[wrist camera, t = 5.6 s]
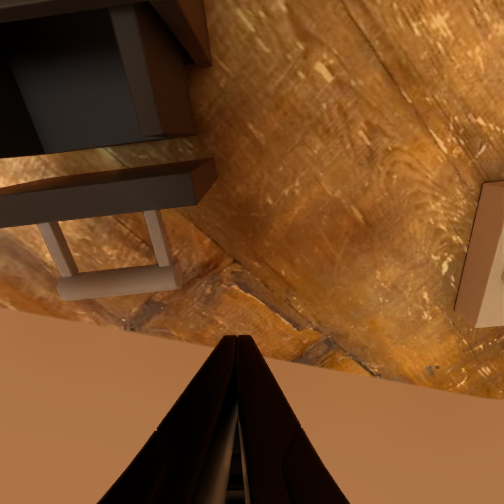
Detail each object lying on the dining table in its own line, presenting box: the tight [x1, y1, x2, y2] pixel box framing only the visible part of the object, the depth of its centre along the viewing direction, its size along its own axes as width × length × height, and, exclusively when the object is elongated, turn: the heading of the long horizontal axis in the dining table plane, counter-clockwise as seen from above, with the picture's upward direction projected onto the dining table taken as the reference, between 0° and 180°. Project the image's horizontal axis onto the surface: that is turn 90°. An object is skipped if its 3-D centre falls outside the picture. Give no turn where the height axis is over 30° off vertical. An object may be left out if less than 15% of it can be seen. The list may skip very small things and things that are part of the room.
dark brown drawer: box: [0, 1, 218, 301], centre depth 12 cm, size 17×10×7 cm, turn 7°
